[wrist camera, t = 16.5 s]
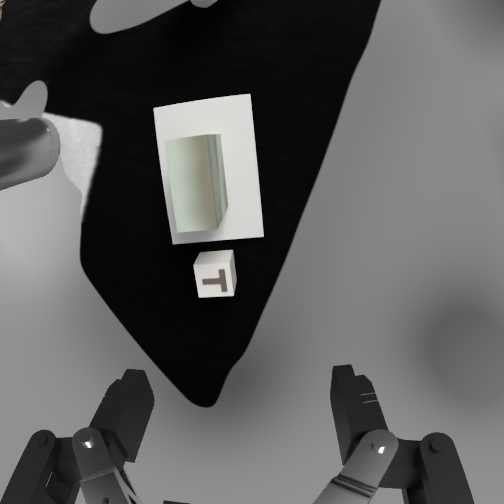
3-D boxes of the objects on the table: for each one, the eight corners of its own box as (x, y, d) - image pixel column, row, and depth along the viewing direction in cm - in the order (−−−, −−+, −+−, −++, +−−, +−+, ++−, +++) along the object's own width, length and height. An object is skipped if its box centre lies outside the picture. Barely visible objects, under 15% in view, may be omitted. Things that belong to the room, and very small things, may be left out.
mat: (174, 242, 43) (173, 244, 42) (155, 108, 36) (153, 108, 36) (263, 234, 42) (263, 236, 41) (250, 94, 36) (250, 94, 35)
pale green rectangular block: (197, 208, 40) (177, 232, 31) (188, 138, 37) (164, 140, 28) (228, 205, 40) (217, 229, 31) (220, 133, 37) (206, 134, 27)
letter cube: (204, 282, 45) (198, 298, 41) (199, 252, 43) (193, 265, 39) (236, 280, 45) (233, 296, 40) (232, 249, 43) (229, 263, 39)
